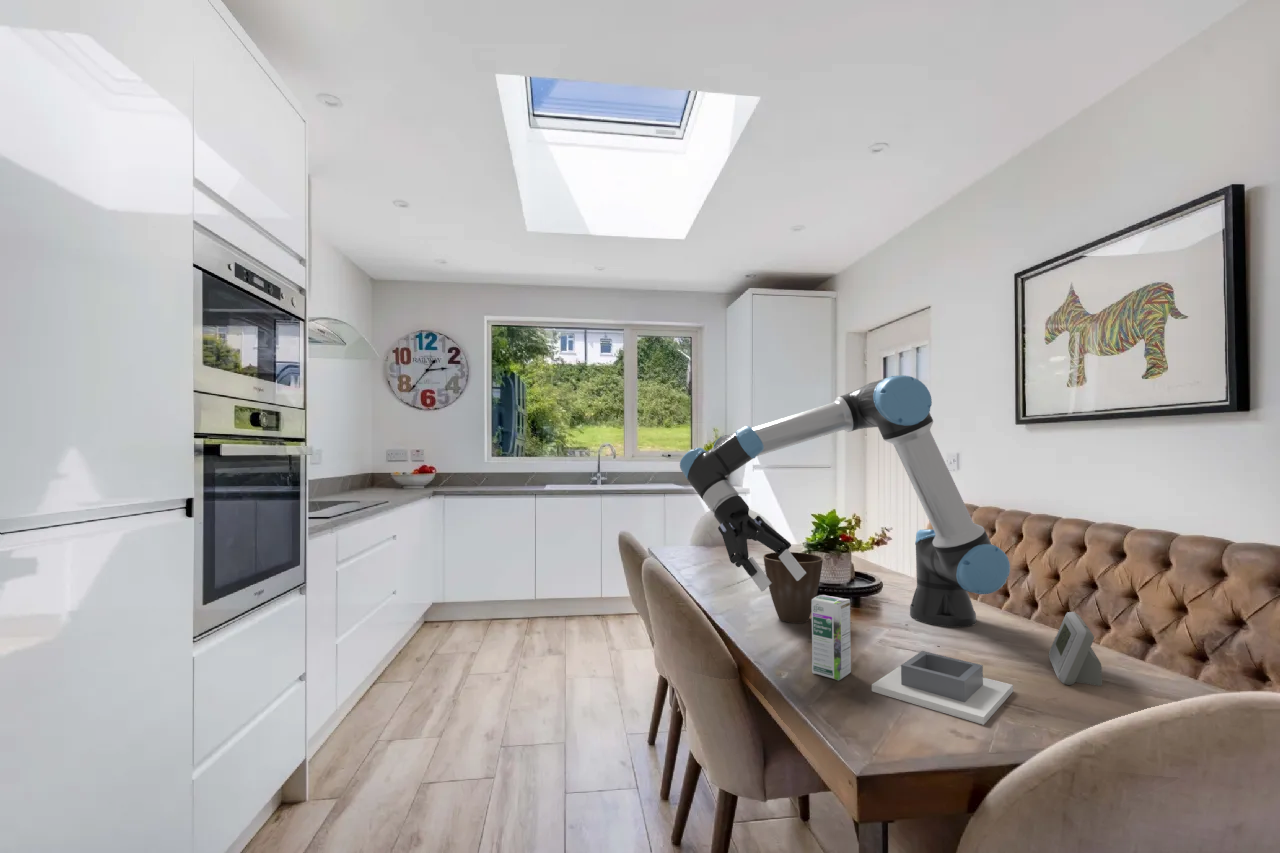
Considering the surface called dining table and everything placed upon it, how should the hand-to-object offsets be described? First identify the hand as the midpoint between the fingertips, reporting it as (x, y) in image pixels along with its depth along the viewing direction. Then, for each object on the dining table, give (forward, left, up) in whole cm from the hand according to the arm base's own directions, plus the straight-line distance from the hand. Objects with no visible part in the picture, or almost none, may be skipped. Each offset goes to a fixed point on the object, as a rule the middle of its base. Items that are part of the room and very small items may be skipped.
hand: (785, 582), depth 121 cm
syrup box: (-4, +9, -16) cm, 19 cm away
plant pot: (-21, -23, -16) cm, 35 cm away
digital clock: (-46, +29, -16) cm, 57 cm away
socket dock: (-16, +24, -16) cm, 33 cm away
